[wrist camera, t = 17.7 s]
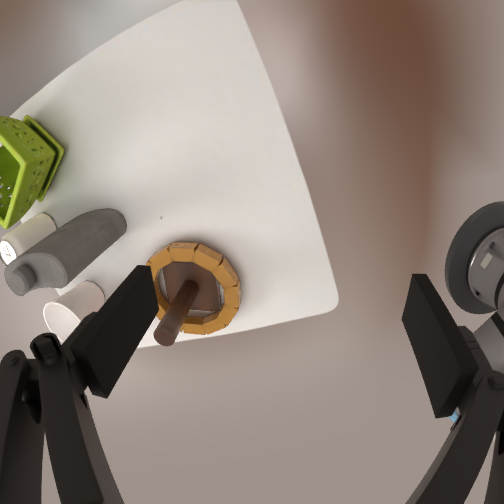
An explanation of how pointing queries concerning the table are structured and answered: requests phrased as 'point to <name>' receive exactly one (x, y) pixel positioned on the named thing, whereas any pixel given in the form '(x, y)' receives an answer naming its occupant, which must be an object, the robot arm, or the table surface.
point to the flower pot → (25, 166)
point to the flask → (65, 252)
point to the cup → (72, 308)
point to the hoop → (211, 263)
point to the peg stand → (186, 297)
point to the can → (25, 237)
